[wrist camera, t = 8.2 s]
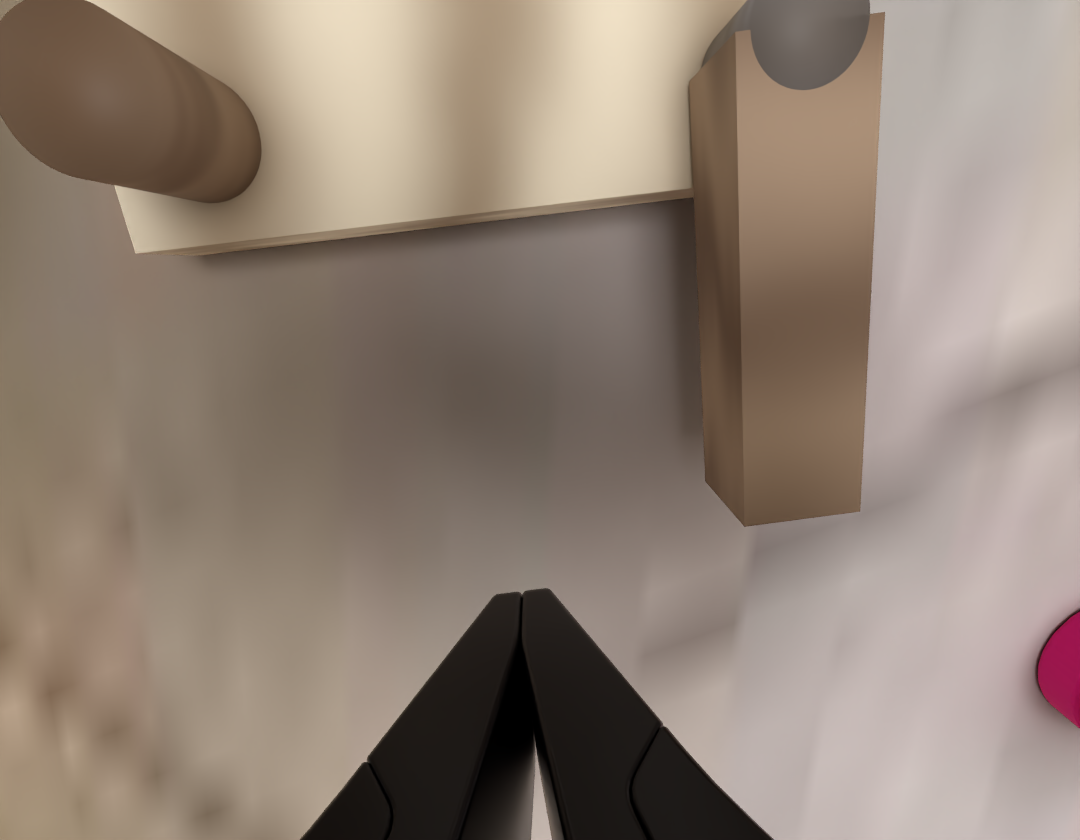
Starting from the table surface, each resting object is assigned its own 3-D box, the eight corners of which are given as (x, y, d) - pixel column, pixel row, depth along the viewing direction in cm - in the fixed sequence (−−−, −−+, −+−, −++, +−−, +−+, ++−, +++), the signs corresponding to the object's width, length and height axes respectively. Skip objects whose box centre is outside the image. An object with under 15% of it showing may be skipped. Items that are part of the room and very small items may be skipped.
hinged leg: (686, 26, 13) (734, -41, 10) (807, 10, 13) (888, -61, 10) (705, 481, 17) (744, 526, 14) (800, 468, 17) (859, 511, 14)
